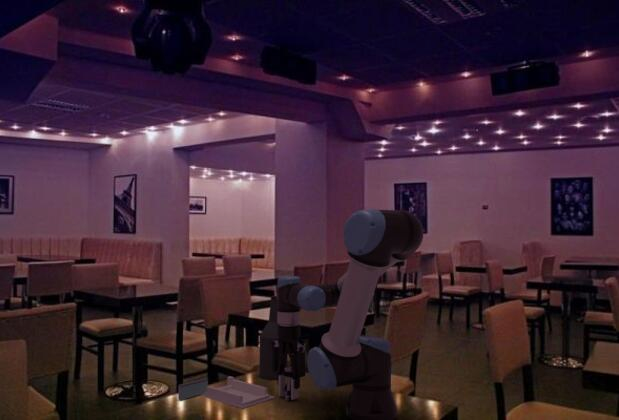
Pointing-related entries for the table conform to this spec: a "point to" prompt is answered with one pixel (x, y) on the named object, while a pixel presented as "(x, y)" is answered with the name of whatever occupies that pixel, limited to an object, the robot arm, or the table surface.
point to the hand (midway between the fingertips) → (288, 396)
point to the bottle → (269, 343)
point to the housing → (238, 393)
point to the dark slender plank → (192, 388)
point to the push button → (288, 382)
